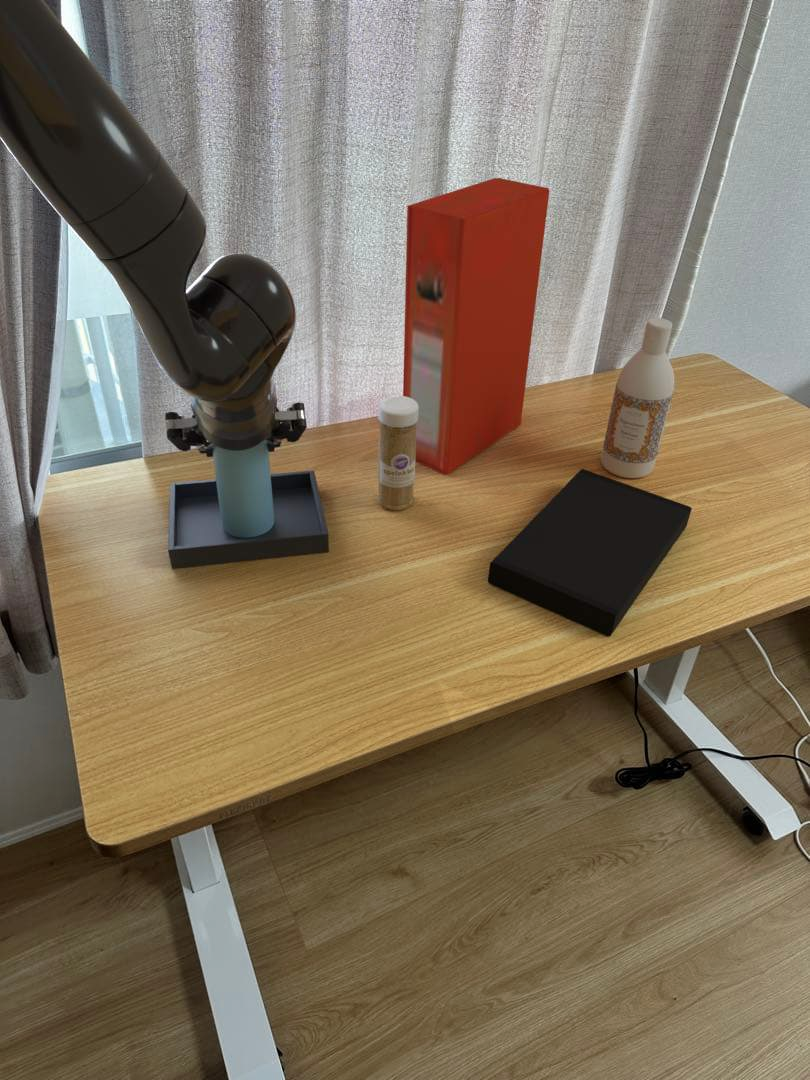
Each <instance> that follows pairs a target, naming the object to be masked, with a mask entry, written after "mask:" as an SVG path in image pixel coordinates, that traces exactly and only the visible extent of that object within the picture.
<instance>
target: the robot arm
mask: <svg viewBox="0 0 810 1080" xmlns="http://www.w3.org/2000/svg"><path fill="white" fill-rule="evenodd" d="M0 140H1V141H2V142H3V144H4V145H5V147H6V148H7V150H8V151H9V152H10V154H12V156H13V158H14V159H15V160H16V162H17V163H18V164H19V166H20V167H21V169H22V170H23V171H24V173H25V174H26V175H27V177H28V178H29V179H30V180H31V182H32V183H33V185H34V186H35V187H36V188H37V189H38V191H39V192H40V194H41V195H42V196H43V197H44V198H45V200H46V201H47V202H48V203H49V204H50V206H52V208H53V209H54V210H55V212H56V213H57V214H58V215H59V216H60V217H61V218H62V220H63V221H64V222H65V223H66V224H67V225H68V226H69V228H70V229H71V230H72V231H73V233H74V234H76V235H77V236H78V238H79V239H80V240H81V241H82V243H84V245H85V246H86V247H87V248H88V249H89V250H90V252H91V253H92V254H93V255H94V256H95V257H96V258H97V259H98V260H99V261H100V263H101V264H102V265H103V266H104V267H105V269H106V270H107V271H108V273H109V274H110V275H111V277H112V278H113V280H114V282H115V283H116V285H117V286H118V288H119V290H120V291H121V293H122V295H123V296H124V299H125V300H126V302H127V304H128V306H129V307H130V309H131V311H132V313H133V315H134V317H135V319H136V321H137V324H138V326H139V328H140V330H141V332H142V334H143V337H144V338H145V341H146V343H147V345H148V347H149V349H150V351H151V354H152V355H153V357H154V358H155V360H156V362H157V364H158V366H159V367H160V369H161V370H162V372H163V373H164V374H165V376H166V377H167V378H168V379H169V380H170V381H171V383H172V384H173V385H174V386H176V387H177V388H178V389H179V390H180V391H181V392H183V393H184V394H186V395H188V396H189V399H190V409H191V411H192V415H191V417H185V415H184V414H183V415H182V414H181V415H180V414H179V413H178V412H176V411H175V412H174V411H168V412H165V414H164V420H165V431H166V439H167V440H168V441H169V442H170V443H171V444H172V445H173V446H174V447H176V449H177V450H178V451H181V452H187V451H190V450H191V449H192V447H196V450H197V451H199V454H205V455H206V458H213V453H212V448H213V449H217V448H219V447H220V448H223V449H226V450H232V451H241V450H247V449H250V448H252V447H255V446H256V445H258V444H261V445H265V444H268V451H269V453H272V452H273V453H274V452H275V449H277V448H280V447H281V446H282V445H281V444H282V440H285V439H286V442H288V443H296V442H298V441H299V440H300V438H301V437H302V435H303V434H304V433H305V431H306V430H307V428H308V425H307V417H306V409H305V403H303V402H299V401H298V402H295V403H292V404H291V406H289V407H286V408H285V410H280V409H279V408H278V407H277V406H278V397H277V387H276V382H275V372H276V369H277V367H278V366H279V364H280V362H281V361H282V359H283V357H284V354H285V353H286V350H287V348H288V347H289V345H290V343H291V340H292V338H293V335H294V332H295V329H296V322H297V309H296V303H295V299H294V296H293V294H292V292H291V289H290V287H289V285H288V284H287V282H286V281H285V279H284V277H283V276H282V275H281V273H280V272H278V270H277V269H276V268H274V266H273V265H271V264H270V263H268V262H267V261H266V260H264V259H262V258H260V257H258V256H255V255H253V254H248V253H243V252H241V253H240V252H238V253H230V254H226V255H223V256H221V257H219V258H217V259H216V260H214V262H212V263H211V264H209V266H208V267H207V268H206V269H205V270H204V271H203V272H202V273H201V275H199V276H198V278H197V279H196V280H195V281H194V282H193V283H192V284H191V285H190V286H189V287H188V288H187V284H188V280H189V276H190V274H191V271H192V269H193V267H194V265H195V263H196V261H197V260H198V257H199V255H200V254H201V252H202V250H203V247H204V245H205V242H206V239H207V235H208V225H207V220H206V218H205V215H204V212H203V211H202V209H201V208H200V206H199V204H198V203H197V201H196V200H195V199H194V197H193V196H192V194H191V193H190V192H189V190H188V189H187V187H186V186H185V185H184V183H183V182H182V180H181V179H180V177H179V176H178V175H177V173H176V172H175V171H174V169H173V168H172V167H171V165H170V164H169V162H168V160H167V159H166V158H165V156H164V155H163V153H162V152H161V151H160V149H159V148H158V146H156V144H155V143H154V141H153V140H152V139H151V137H150V136H149V134H148V133H147V132H146V131H145V129H144V127H142V125H141V124H140V122H139V121H138V119H137V118H136V117H135V116H134V114H133V113H132V111H131V110H130V109H129V108H128V107H127V105H126V104H125V103H124V101H123V100H122V99H121V98H120V96H119V95H118V94H117V92H116V91H115V90H114V89H113V87H112V86H111V85H110V83H109V82H108V81H107V80H106V79H105V77H104V76H103V75H102V74H101V72H100V71H99V69H98V68H97V67H96V66H95V65H94V64H93V62H92V61H91V60H90V58H89V57H88V56H87V55H86V53H85V52H84V50H82V48H81V47H80V46H79V44H78V43H77V42H76V41H75V38H73V37H72V35H71V34H70V33H69V32H68V30H67V29H66V28H65V27H64V25H63V24H62V23H61V21H60V20H59V19H58V18H57V16H56V15H55V14H54V12H53V11H52V9H51V8H50V6H48V4H47V3H46V2H45V0H0Z"/></svg>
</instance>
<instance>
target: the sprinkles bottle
mask: <svg viewBox="0 0 810 1080" xmlns="http://www.w3.org/2000/svg"><path fill="white" fill-rule="evenodd" d="M418 413H419V406H418V403H417V402H416V401H415V400H413V399H411V398H409V397H405V396H403V395H390V396H387V397H385V398H383V399H381V401H379V403H378V413H377V418H378V423H379V433H378V434H379V435H378V450H377V479H378V491H377V492H378V494H377V496H376V497H377V499H376V500H377V503H378V504H379V506H381V507H382V508H383V509H385V510H389V511H402V510H406V509H408V508H410V507H411V506H412V505H413V503H414V499H415V498H414V485H415V483H414V482H415V475H416V474H415V473H416V461H415V457H416V424H417V421H418Z"/></svg>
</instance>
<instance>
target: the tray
mask: <svg viewBox="0 0 810 1080" xmlns="http://www.w3.org/2000/svg"><path fill="white" fill-rule="evenodd" d="M270 474H271V486H272V498H273V510H274V524H273V526H272V528H271V529H270V530H269V531H267V532H266V533H264V534H262V535H259V536H256V537H250V538H241V537H235V536H232V535H230V534H228V533H227V532H226V531H225V530H224V529H223V527H222V521H221V514H220V506H219V499H218V491H217V483H216V478H209V479H200V480H199V479H198V480H188V481H177V482H170V483H169V484H170V485H169V509H168V511H169V512H168V543H167V545H168V547H167V551H168V556H169V562H170V567H171V569H172V570H174V569H180V568H193V567H201V566H202V567H203V566H212V565H220V564H221V565H222V564H229V563H238V562H248V561H257V560H268V559H276V558H277V559H278V558H285V557H296V556H305V555H315V554H323V553H330V540H329V535H330V534H329V530H328V526H327V522H326V517H325V512H324V508H323V504H322V499H321V495H320V490H319V486H318V481H317V477H316V473H315V470H304V471H303V470H302V471H292V472H291V471H290V472H278V473H270Z"/></svg>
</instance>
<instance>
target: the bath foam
mask: <svg viewBox="0 0 810 1080" xmlns="http://www.w3.org/2000/svg"><path fill="white" fill-rule="evenodd" d="M672 329H673V322H672V321H670V320H668V319H666V318H663V317H651V318H649V319H648V320H647V322H646V325H645V329H644V334H643V338H642V343H641V348H640V349H639V350H638V351H637V352H636V353H634V355H633V356H632V357H631V358H630V359H629V360H628V361H626V363H625V364H624V366H623V367H622V369H621V371H620V372H619V375H618V378H617V381H616V384H615V389H614V392H613V393H614V395H613V398H612V402H611V403H612V404H611V407H610V412H609V417H608V422H607V426H606V431H605V436H604V441H603V447H602V452H601V457H600V462H601V464H602V466H603V468H604V469H605V470H606V471H608V472H609V473H610V474H612V475H614V476H617V477H619V478H620V477H621V478H625V479H641V478H644V477H647V476H649V475H651V473H652V472H653V470H654V469H655V465H656V461H657V459H658V455H659V450H660V446H661V443H662V439H663V435H664V430H665V428H666V427H665V426H666V423H667V419H668V415H669V412H670V408H671V404H672V400H673V396H674V393H675V392H674V391H675V381H676V380H675V373H674V369H673V366H672V364H671V361H670V359H669V356H668V354H667V349H668V346H669V342H670V337H671V334H672Z"/></svg>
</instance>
